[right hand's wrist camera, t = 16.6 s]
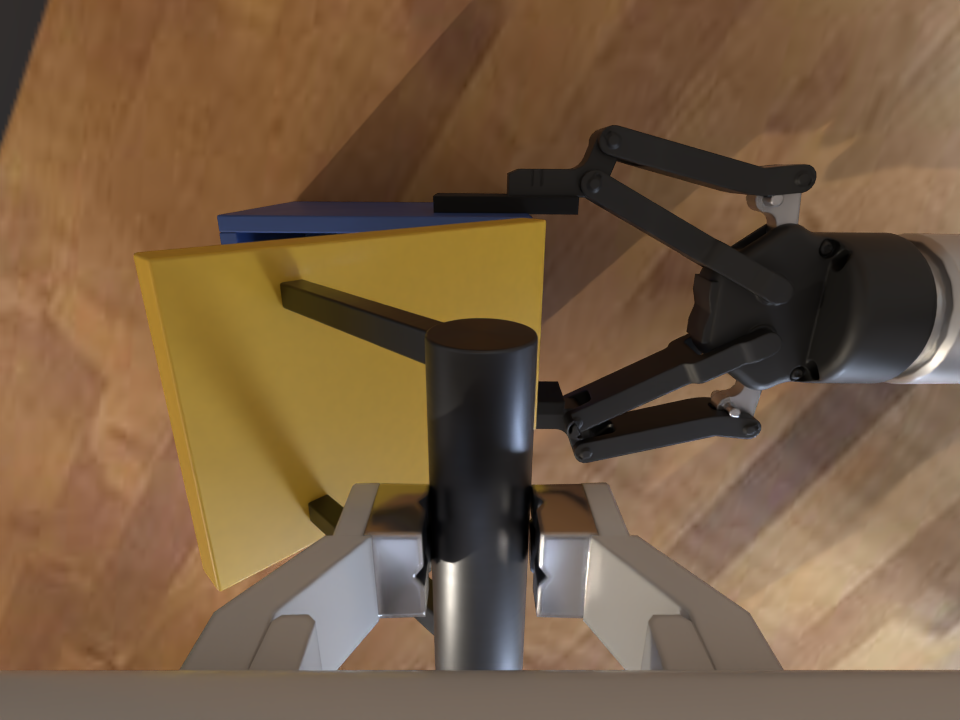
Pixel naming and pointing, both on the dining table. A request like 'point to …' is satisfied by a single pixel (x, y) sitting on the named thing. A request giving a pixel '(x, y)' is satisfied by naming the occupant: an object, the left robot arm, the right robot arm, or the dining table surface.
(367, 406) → the lid
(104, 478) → the dining table surface
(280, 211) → the chest
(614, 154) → the left robot arm
